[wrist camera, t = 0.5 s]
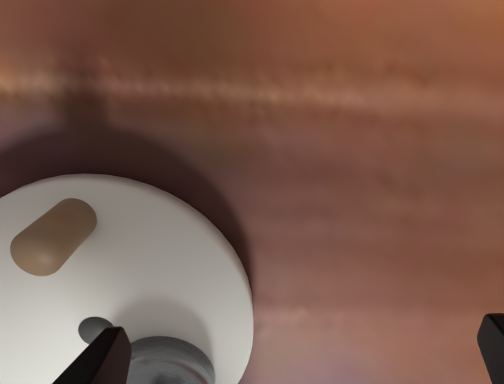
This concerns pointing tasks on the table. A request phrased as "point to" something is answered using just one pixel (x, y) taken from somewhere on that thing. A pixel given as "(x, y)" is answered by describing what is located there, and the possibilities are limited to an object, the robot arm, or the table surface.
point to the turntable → (114, 276)
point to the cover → (168, 362)
